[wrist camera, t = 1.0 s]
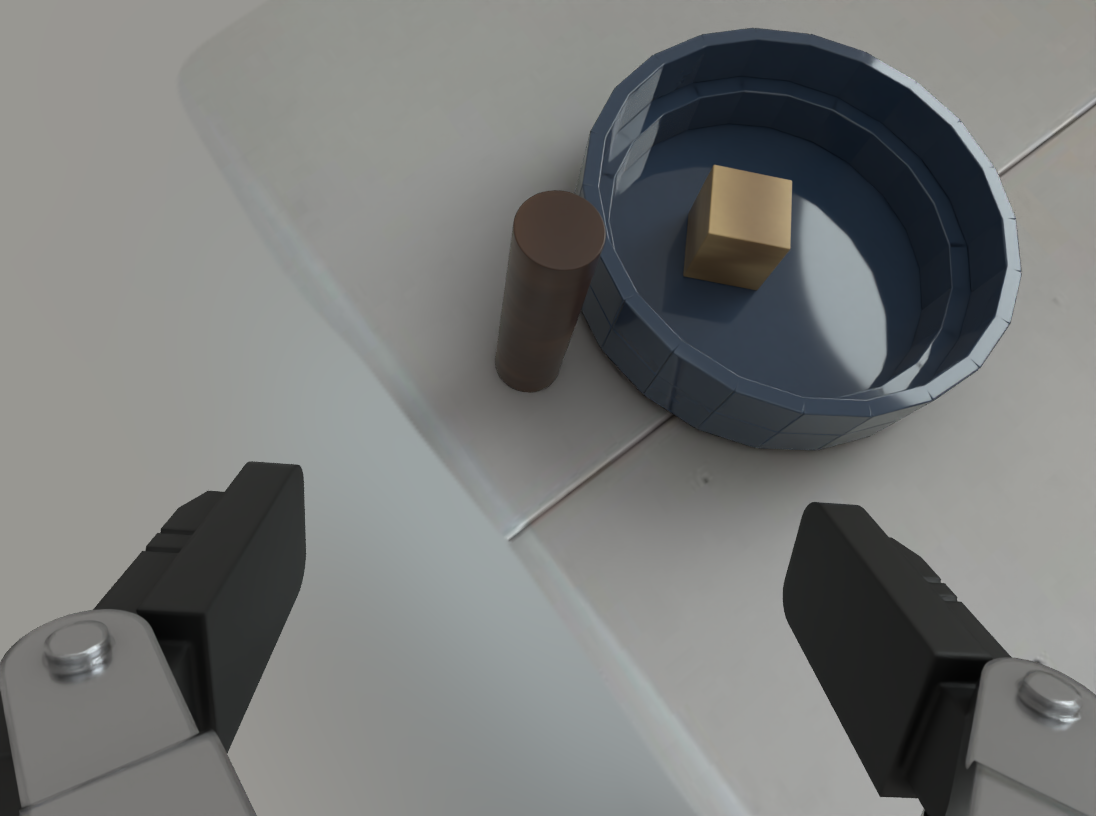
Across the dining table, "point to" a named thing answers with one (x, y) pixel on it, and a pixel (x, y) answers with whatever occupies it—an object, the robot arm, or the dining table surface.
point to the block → (738, 228)
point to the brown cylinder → (546, 285)
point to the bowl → (797, 240)
